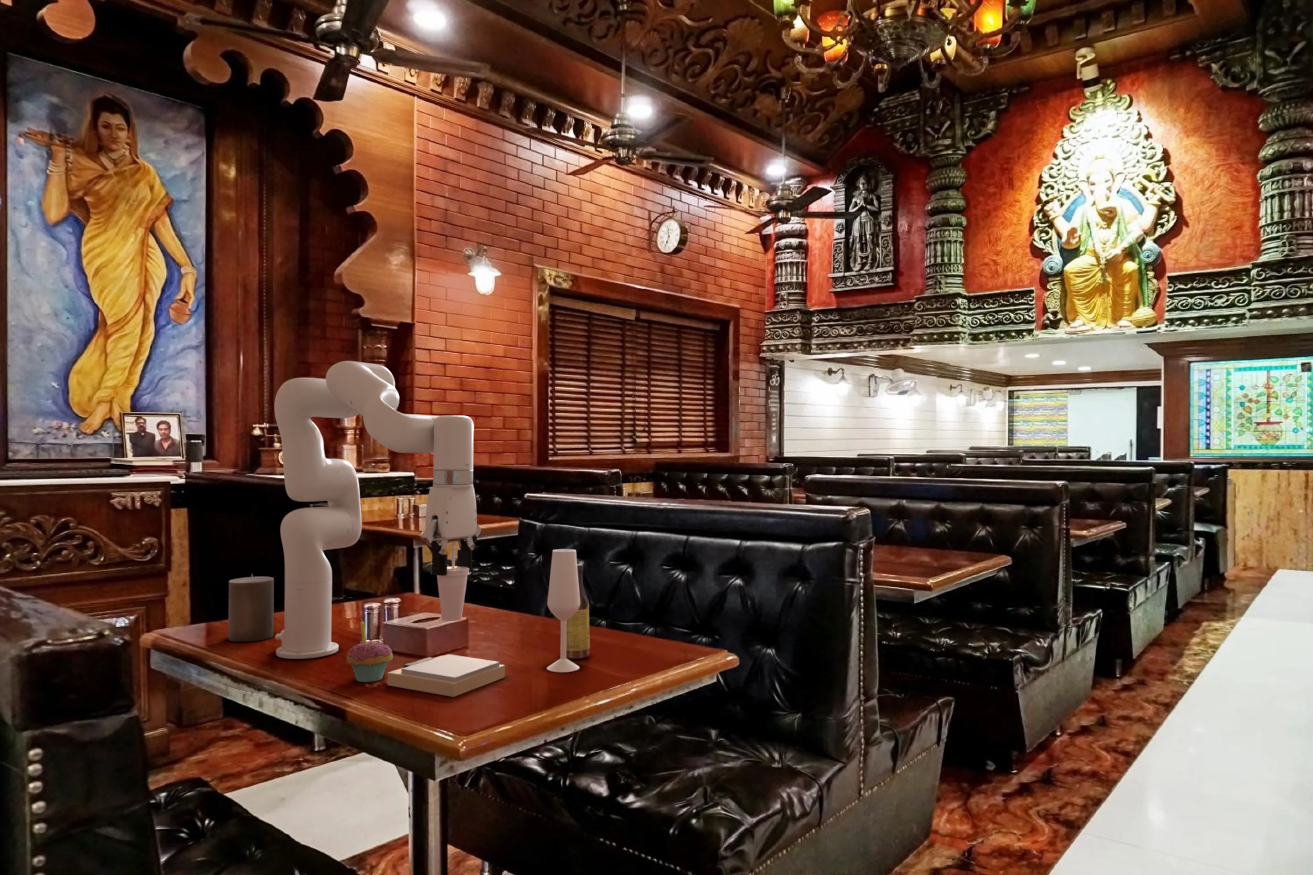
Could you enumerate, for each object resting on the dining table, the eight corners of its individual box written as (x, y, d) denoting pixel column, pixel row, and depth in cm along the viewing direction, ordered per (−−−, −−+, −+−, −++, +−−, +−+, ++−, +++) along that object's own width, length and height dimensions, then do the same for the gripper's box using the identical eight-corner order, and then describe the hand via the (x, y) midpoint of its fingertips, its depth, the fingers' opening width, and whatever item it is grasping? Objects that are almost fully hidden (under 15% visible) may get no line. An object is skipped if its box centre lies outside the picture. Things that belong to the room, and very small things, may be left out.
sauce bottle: (595, 656, 179) (596, 564, 180) (573, 661, 175) (574, 567, 175) (575, 651, 184) (576, 561, 184) (553, 656, 179) (554, 564, 180)
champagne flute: (549, 663, 173) (550, 548, 174) (581, 663, 173) (582, 548, 174) (544, 671, 167) (545, 552, 167) (577, 672, 166) (578, 552, 167)
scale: (387, 685, 156) (387, 668, 156) (441, 667, 170) (442, 651, 170) (453, 696, 149) (453, 679, 149) (504, 677, 162) (505, 660, 162)
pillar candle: (280, 637, 196) (281, 573, 196) (237, 644, 189) (238, 578, 189) (262, 631, 203) (263, 569, 203) (220, 637, 195) (221, 573, 196)
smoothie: (473, 616, 162) (474, 544, 163) (462, 622, 156) (463, 548, 156) (441, 615, 163) (442, 543, 163) (429, 621, 157) (430, 547, 157)
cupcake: (365, 687, 155) (366, 622, 155) (336, 680, 159) (337, 617, 160) (401, 677, 162) (402, 615, 162) (372, 670, 167) (373, 610, 167)
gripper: (467, 478, 169) (466, 566, 169) (406, 480, 154) (404, 577, 154) (496, 478, 166) (496, 568, 166) (437, 481, 151) (436, 580, 150)
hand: (452, 571), depth 160 cm, fingers closed on smoothie, 6 cm apart
